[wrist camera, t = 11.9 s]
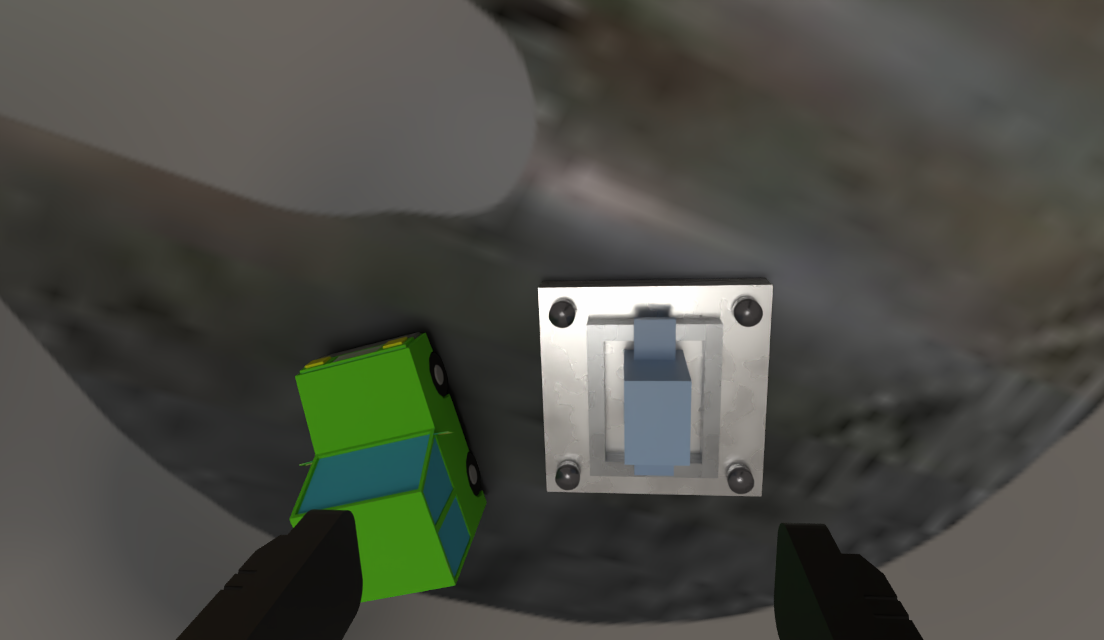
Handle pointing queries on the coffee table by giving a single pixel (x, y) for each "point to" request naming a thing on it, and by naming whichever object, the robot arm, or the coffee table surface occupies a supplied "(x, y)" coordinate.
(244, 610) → the robot arm
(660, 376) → the block
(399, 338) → the toy car
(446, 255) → the coffee table surface
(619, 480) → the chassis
